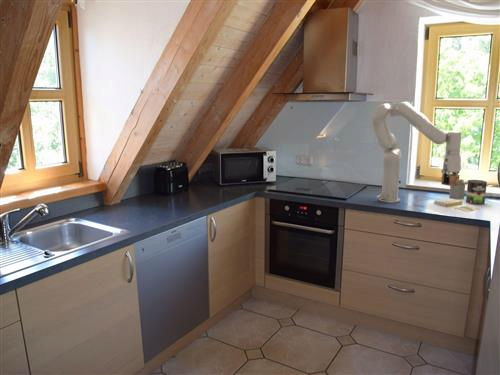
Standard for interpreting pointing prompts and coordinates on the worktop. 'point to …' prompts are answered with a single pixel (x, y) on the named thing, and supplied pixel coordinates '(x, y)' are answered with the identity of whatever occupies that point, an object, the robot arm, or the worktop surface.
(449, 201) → the block
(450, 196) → the cup
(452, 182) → the crate
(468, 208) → the pallet
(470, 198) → the coffee can
